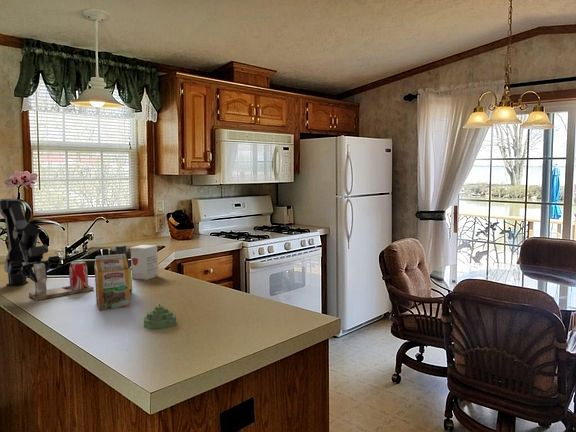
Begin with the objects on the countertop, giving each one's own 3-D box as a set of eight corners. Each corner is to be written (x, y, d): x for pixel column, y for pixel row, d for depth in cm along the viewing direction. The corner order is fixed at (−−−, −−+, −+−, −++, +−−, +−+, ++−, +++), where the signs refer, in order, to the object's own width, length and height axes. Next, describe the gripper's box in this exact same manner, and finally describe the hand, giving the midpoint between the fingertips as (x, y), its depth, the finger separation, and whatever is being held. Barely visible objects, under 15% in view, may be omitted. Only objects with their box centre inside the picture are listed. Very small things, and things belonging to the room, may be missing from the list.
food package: (99, 310, 171) (96, 258, 169) (96, 303, 180) (93, 254, 179) (130, 306, 176) (127, 255, 174) (125, 300, 185) (123, 251, 183)
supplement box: (130, 278, 224) (129, 247, 222) (143, 274, 232) (142, 244, 231) (146, 280, 220) (145, 248, 219) (158, 276, 228) (157, 245, 227)
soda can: (83, 292, 198) (82, 263, 197) (67, 292, 199) (65, 264, 198) (91, 288, 205) (89, 260, 204) (75, 288, 206) (73, 260, 205)
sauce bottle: (135, 292, 197) (133, 244, 196) (125, 295, 191) (123, 247, 190) (122, 291, 200) (120, 244, 198) (112, 294, 194) (110, 246, 192)
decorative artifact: (142, 322, 157) (146, 331, 147) (141, 301, 156) (145, 309, 147) (173, 318, 161) (178, 327, 151) (172, 298, 160) (178, 305, 151)
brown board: (37, 300, 186) (35, 266, 185) (29, 295, 193) (27, 263, 192) (93, 289, 202) (92, 259, 201) (84, 286, 209) (82, 256, 208)
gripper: (7, 241, 186) (19, 273, 179) (57, 236, 199) (69, 265, 192) (3, 259, 192) (14, 290, 185) (51, 252, 205) (63, 281, 199)
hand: (41, 281), depth 190 cm, fingers open, 3 cm apart
